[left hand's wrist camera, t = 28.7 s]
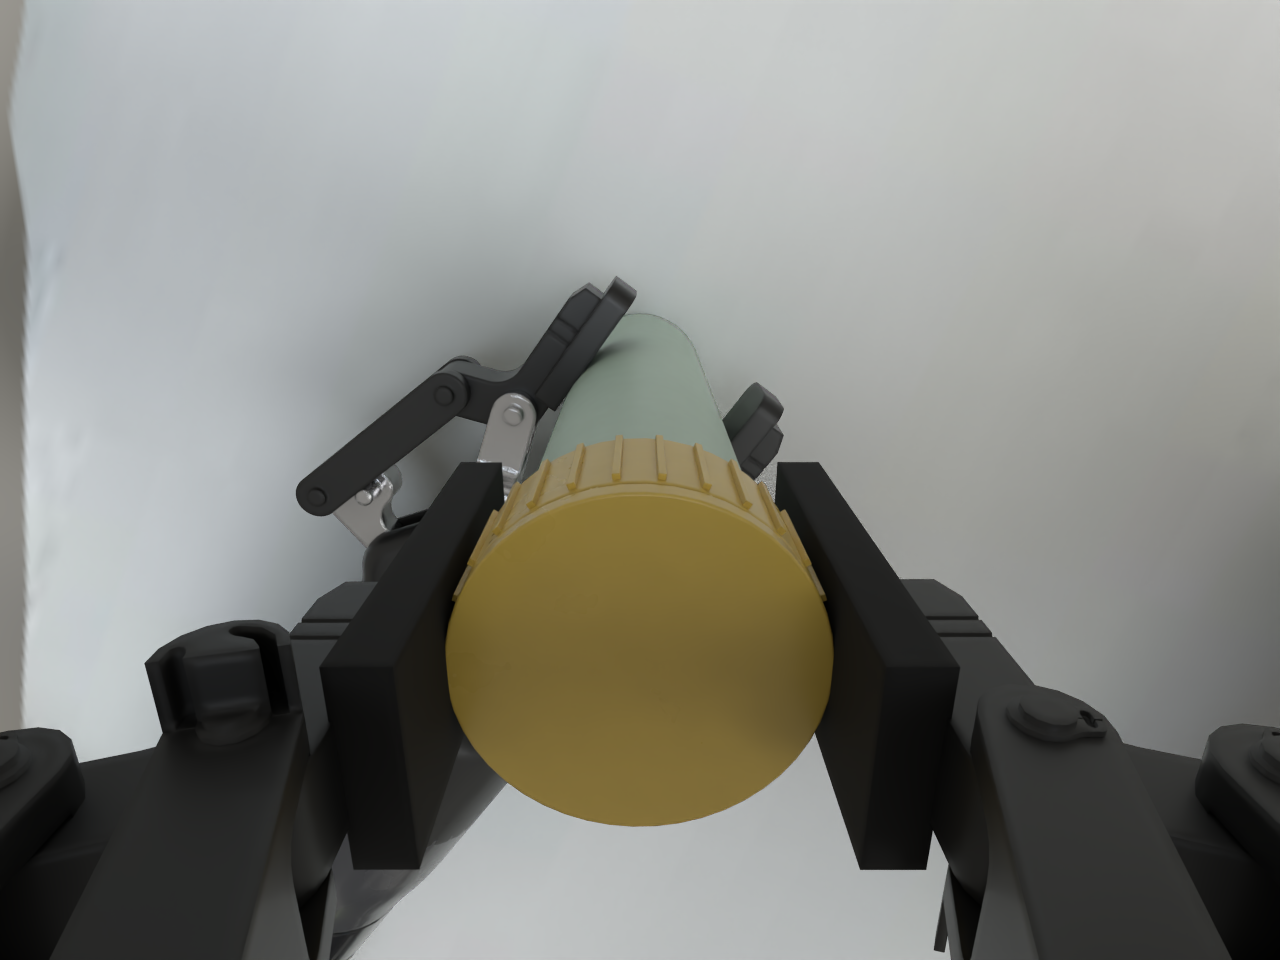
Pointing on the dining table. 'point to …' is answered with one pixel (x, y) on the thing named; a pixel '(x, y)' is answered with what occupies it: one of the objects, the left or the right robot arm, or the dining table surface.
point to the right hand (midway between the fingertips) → (696, 343)
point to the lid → (639, 636)
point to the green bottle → (641, 393)
